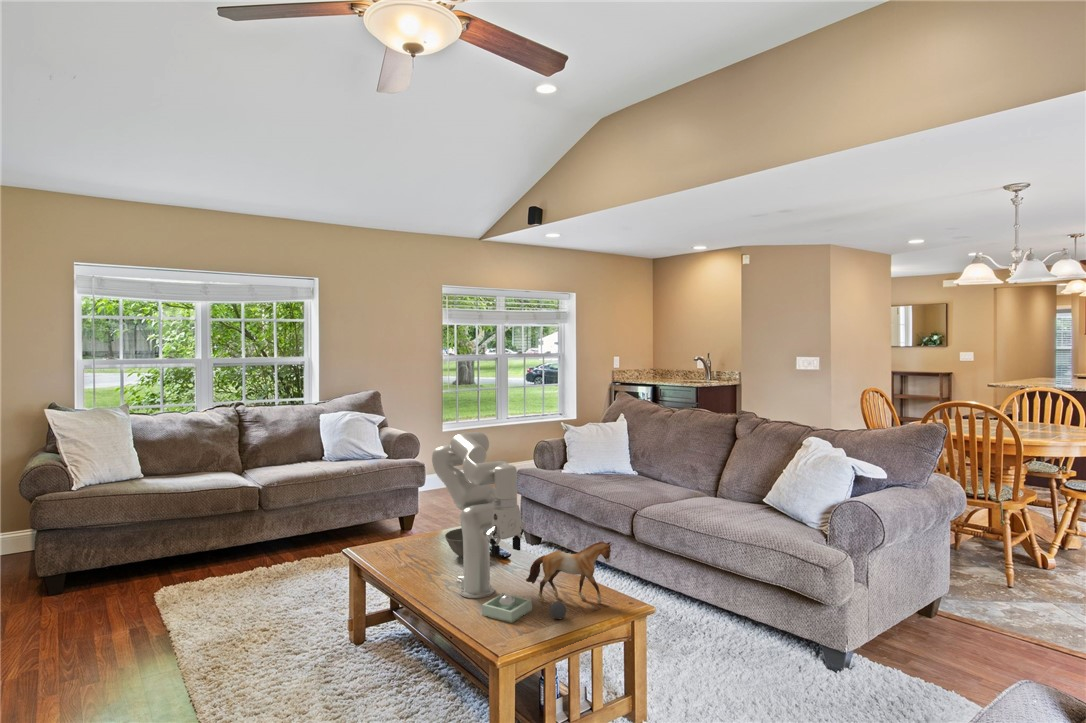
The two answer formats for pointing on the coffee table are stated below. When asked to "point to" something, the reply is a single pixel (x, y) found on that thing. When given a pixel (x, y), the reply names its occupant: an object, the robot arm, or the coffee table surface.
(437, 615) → the coffee table surface
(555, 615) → the rubber ball
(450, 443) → the robot arm
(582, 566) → the horse figurine
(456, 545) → the bowl
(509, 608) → the steel ball
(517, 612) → the tray
